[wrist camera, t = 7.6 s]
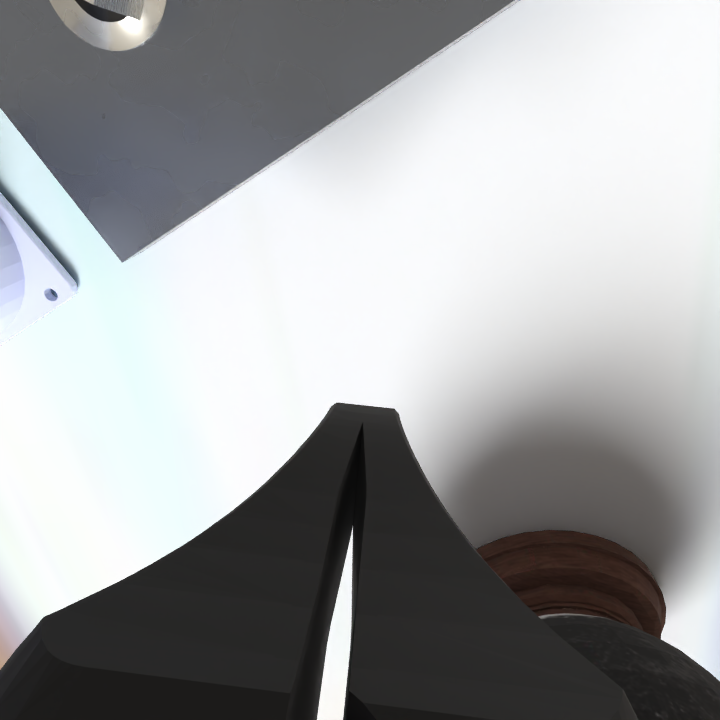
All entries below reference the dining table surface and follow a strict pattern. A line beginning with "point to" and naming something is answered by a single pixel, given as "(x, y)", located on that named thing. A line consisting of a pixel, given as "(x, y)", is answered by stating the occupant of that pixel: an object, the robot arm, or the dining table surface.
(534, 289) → the dining table surface
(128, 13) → the leg
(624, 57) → the dining table surface
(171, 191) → the bolt plate
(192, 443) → the dining table surface
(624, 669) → the black ball on base
